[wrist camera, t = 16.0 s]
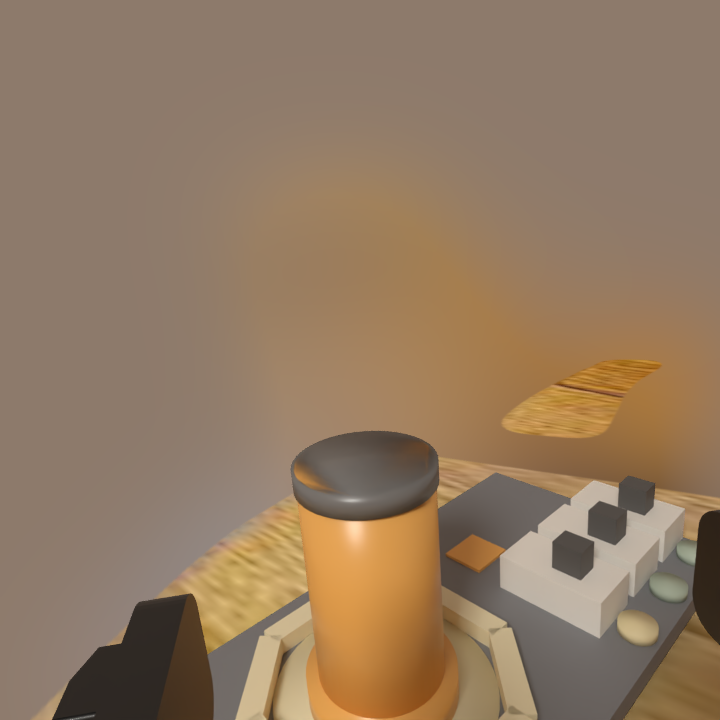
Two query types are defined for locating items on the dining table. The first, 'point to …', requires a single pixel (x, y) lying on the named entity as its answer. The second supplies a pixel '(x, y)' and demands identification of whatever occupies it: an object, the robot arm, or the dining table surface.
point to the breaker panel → (515, 607)
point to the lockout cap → (374, 579)
